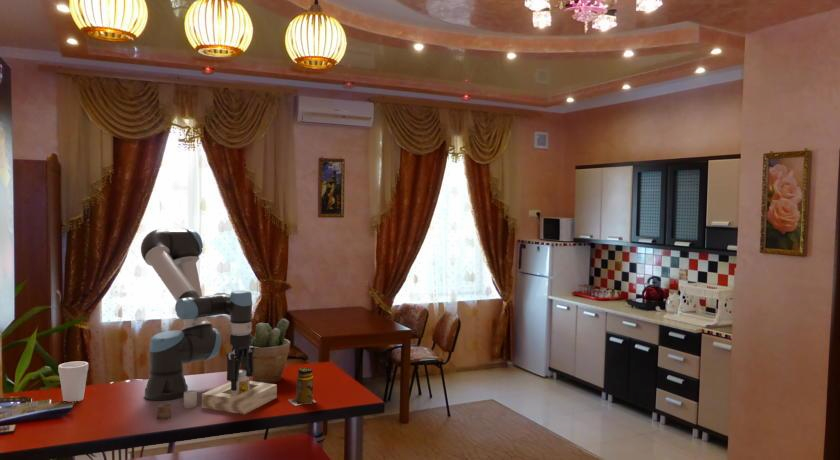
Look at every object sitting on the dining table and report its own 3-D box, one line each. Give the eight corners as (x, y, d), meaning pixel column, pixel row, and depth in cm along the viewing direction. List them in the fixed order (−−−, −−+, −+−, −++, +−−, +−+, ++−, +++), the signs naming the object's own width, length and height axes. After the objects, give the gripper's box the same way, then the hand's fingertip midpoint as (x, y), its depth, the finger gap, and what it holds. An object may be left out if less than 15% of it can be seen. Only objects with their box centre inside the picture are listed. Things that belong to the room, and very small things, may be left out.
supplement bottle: (248, 394, 225) (248, 368, 225) (247, 399, 220) (247, 372, 219) (233, 395, 224) (233, 369, 223) (232, 399, 218) (232, 373, 218)
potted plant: (265, 388, 239) (266, 326, 238) (234, 380, 249) (234, 320, 248) (298, 378, 254) (299, 319, 253) (267, 370, 265) (268, 314, 264)
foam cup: (72, 394, 227) (72, 360, 226) (93, 397, 225) (94, 362, 224) (52, 402, 217) (52, 367, 217) (74, 405, 215) (74, 368, 215)
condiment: (316, 402, 224) (317, 370, 223) (295, 406, 219) (295, 373, 219) (309, 397, 230) (309, 365, 230) (287, 400, 225) (288, 368, 225)
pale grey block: (181, 407, 216) (181, 393, 215) (189, 403, 220) (189, 389, 220) (191, 408, 214) (191, 394, 214) (199, 404, 218) (199, 391, 218)
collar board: (201, 407, 215) (201, 393, 215) (236, 391, 234) (236, 379, 234) (244, 414, 209) (244, 400, 209) (276, 397, 228) (276, 384, 228)
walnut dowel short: (153, 418, 203) (153, 407, 203) (163, 414, 208) (163, 403, 207) (164, 420, 202) (164, 408, 202) (173, 416, 206) (173, 404, 206)
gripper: (233, 339, 211) (233, 405, 212) (264, 329, 228) (263, 390, 229) (216, 337, 213) (215, 402, 214) (247, 327, 231) (246, 388, 232)
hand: (240, 396), depth 222 cm, fingers closed on supplement bottle, 5 cm apart
